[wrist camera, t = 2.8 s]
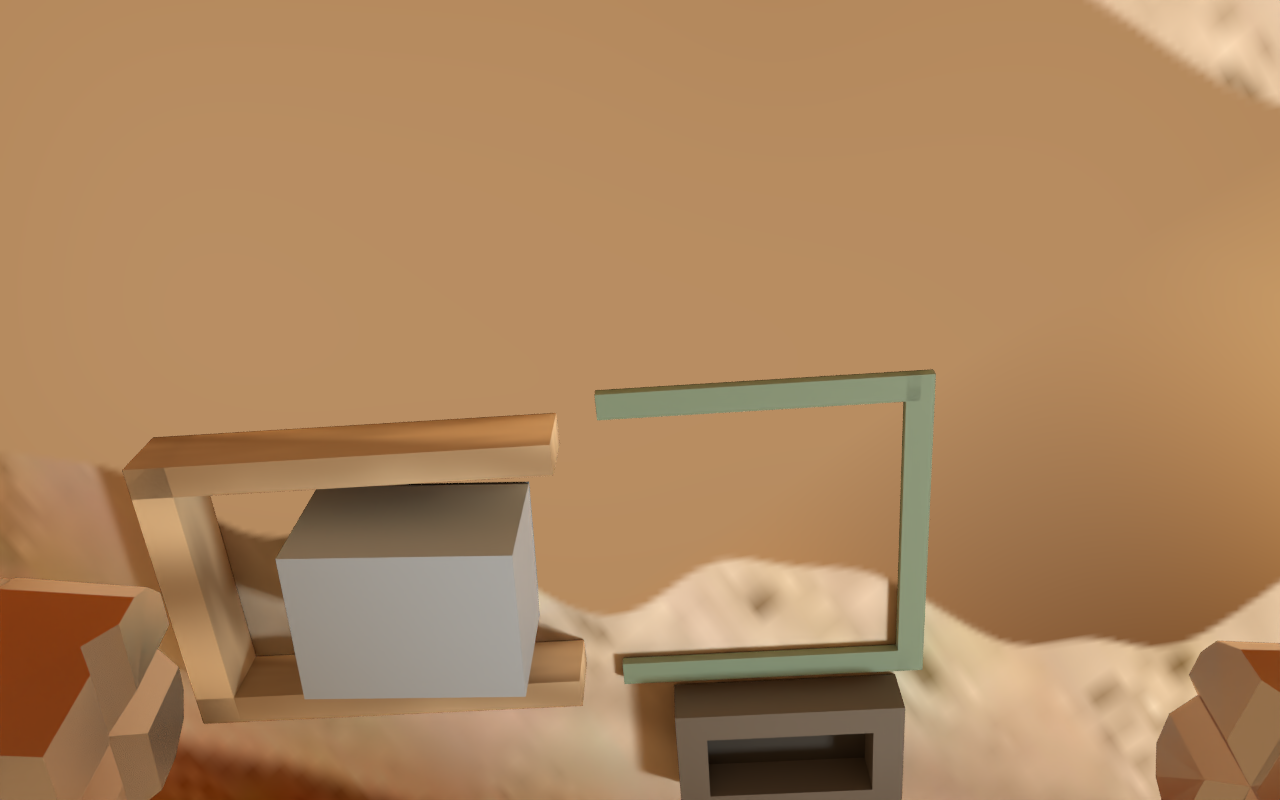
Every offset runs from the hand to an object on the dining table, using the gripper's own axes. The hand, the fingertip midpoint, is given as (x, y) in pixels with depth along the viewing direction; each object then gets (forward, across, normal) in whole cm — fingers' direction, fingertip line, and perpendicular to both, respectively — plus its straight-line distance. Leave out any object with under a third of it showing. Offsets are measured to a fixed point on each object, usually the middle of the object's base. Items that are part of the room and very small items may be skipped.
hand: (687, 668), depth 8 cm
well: (+24, +8, -29) cm, 39 cm away
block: (+26, -7, -22) cm, 34 cm away
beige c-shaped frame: (+26, -9, -22) cm, 35 cm away
